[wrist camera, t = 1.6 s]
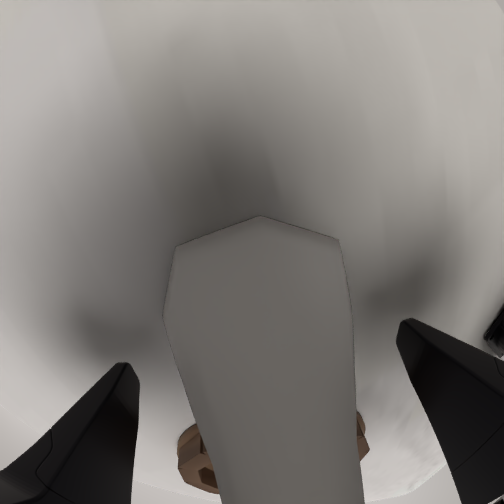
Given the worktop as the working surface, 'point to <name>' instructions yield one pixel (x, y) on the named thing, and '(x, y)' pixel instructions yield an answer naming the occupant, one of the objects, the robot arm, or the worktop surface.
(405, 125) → the worktop surface
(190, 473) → the round wooden tray
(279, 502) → the flask
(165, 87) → the worktop surface
